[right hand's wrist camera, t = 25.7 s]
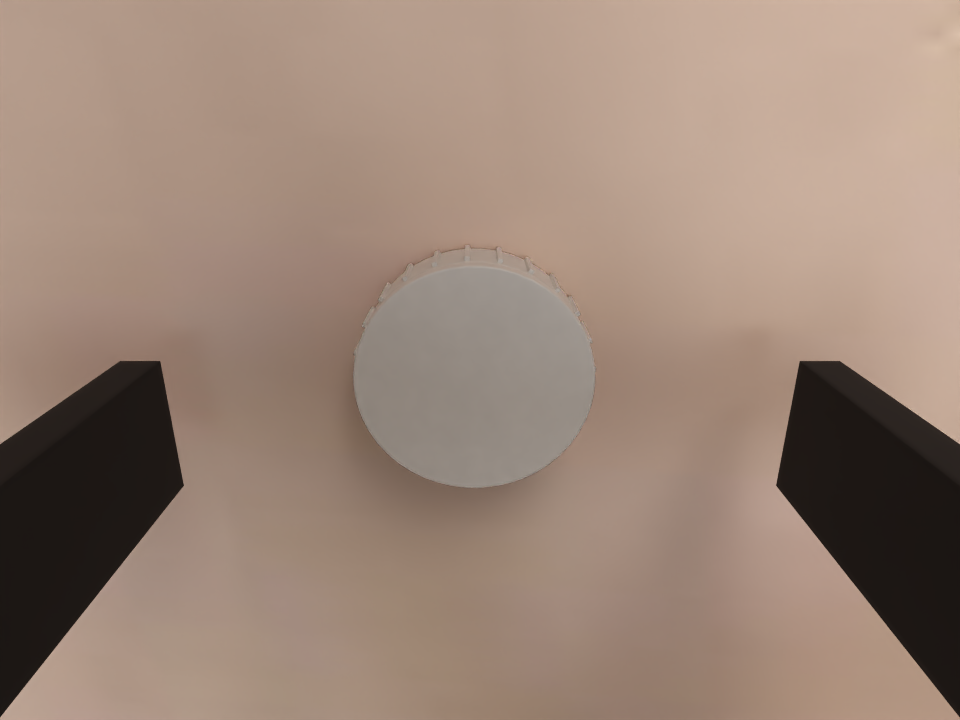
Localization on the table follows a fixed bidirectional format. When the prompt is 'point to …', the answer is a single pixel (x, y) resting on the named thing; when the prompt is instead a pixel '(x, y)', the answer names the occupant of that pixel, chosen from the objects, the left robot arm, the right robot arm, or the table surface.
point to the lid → (474, 369)
